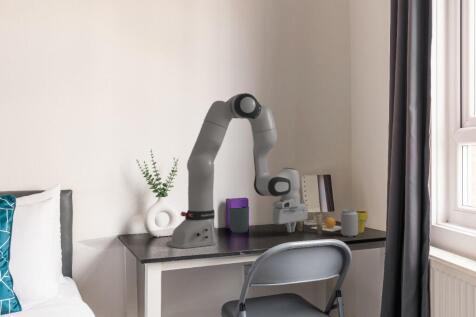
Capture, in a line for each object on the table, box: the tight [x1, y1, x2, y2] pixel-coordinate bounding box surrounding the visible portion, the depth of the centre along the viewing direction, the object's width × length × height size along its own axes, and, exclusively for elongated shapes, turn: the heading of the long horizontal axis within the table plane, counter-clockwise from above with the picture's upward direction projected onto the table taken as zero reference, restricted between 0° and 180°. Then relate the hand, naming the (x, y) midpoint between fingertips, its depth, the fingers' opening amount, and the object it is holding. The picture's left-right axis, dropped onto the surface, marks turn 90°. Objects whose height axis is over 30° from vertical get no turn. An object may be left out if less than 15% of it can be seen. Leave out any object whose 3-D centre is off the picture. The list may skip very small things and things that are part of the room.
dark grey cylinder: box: [228, 205, 250, 233], centre depth 234 cm, size 10×10×12 cm
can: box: [340, 208, 359, 238], centre depth 216 cm, size 8×8×12 cm
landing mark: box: [310, 224, 341, 232], centre depth 237 cm, size 14×14×1 cm
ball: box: [323, 217, 336, 228], centre depth 237 cm, size 6×6×6 cm
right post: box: [316, 213, 323, 235], centre depth 223 cm, size 3×3×9 cm
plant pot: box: [355, 209, 369, 234], centre depth 226 cm, size 10×10×10 cm
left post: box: [296, 221, 304, 232], centre depth 232 cm, size 3×3×9 cm
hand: (290, 231), depth 219 cm, fingers closed
